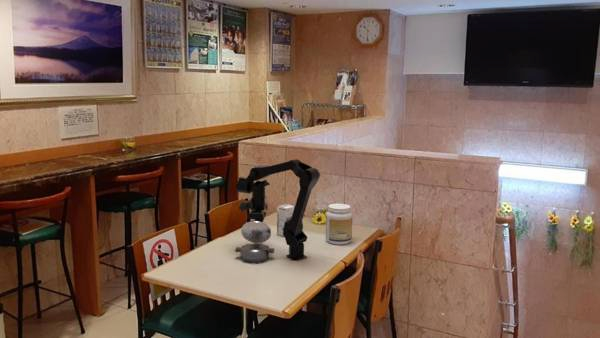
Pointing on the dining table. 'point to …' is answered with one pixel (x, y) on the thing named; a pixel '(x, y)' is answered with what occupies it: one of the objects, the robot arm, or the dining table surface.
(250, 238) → the cooker lid
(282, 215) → the syrup box
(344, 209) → the supplement tub
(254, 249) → the cooker pot
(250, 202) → the robot arm
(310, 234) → the dining table surface
